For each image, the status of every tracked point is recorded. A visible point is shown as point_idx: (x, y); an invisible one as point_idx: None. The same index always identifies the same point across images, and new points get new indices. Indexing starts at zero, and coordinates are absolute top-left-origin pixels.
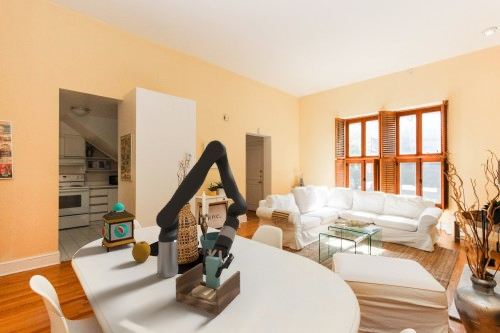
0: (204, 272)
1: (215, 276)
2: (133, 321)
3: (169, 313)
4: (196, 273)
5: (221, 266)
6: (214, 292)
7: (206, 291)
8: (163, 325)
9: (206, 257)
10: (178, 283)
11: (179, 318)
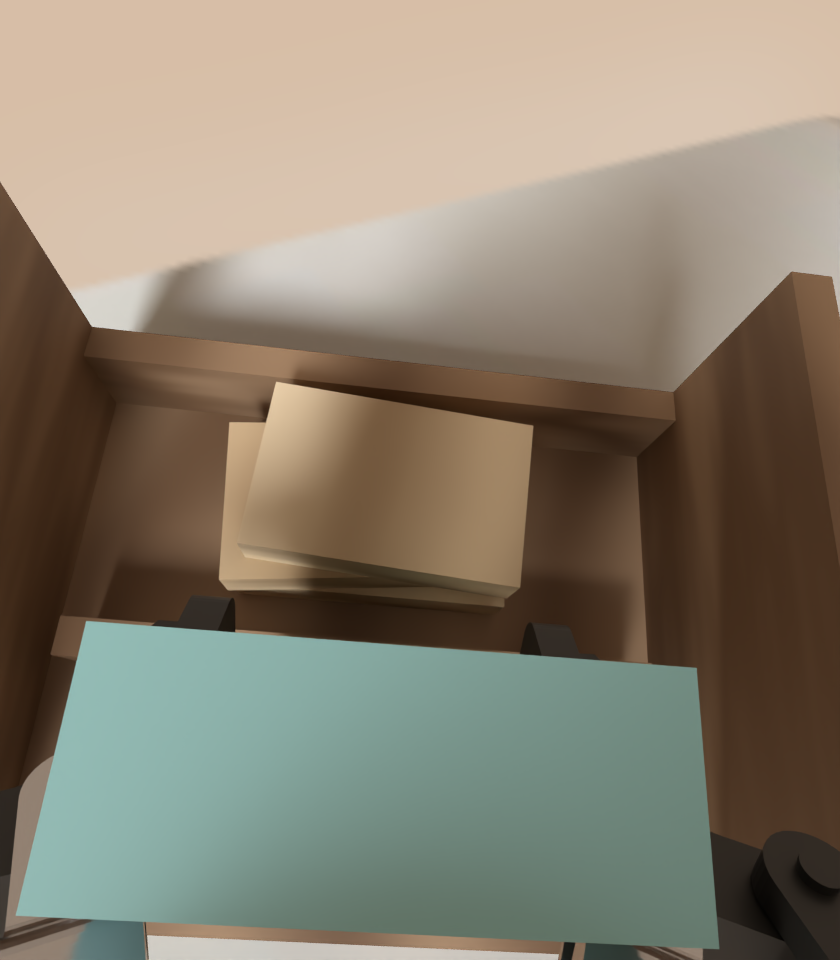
0: (531, 641)
1: (219, 599)
2: (763, 194)
3: (599, 335)
4: (785, 799)
5: (41, 771)
6: (247, 578)
7: (317, 455)
8: (526, 213)
9: (664, 675)
10: (743, 335)
11: (469, 307)
